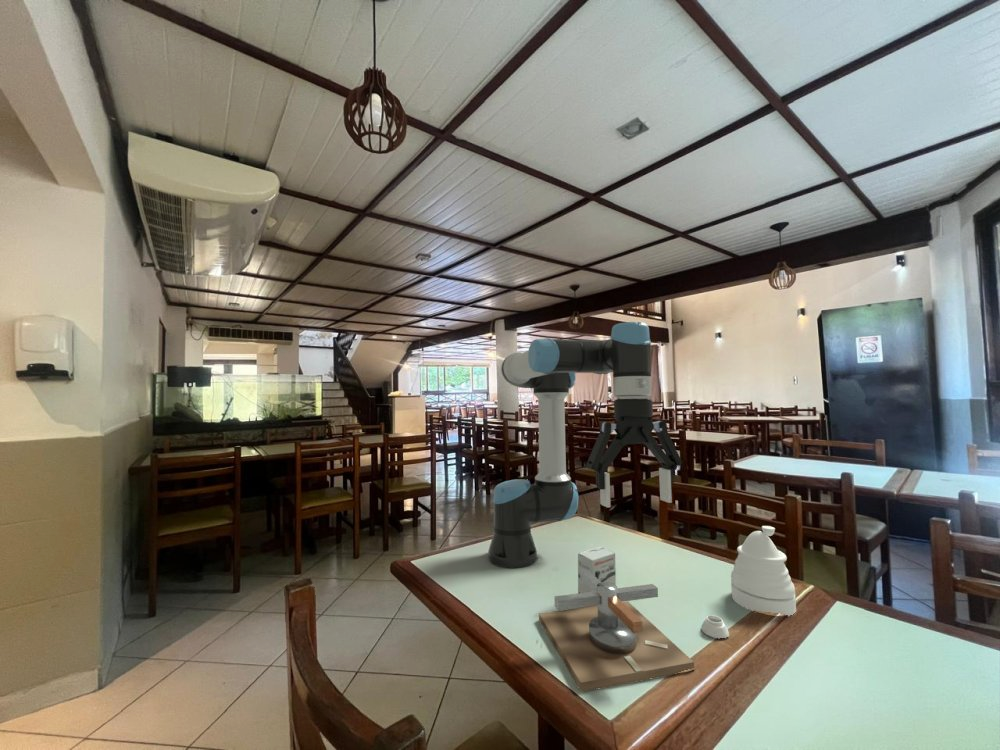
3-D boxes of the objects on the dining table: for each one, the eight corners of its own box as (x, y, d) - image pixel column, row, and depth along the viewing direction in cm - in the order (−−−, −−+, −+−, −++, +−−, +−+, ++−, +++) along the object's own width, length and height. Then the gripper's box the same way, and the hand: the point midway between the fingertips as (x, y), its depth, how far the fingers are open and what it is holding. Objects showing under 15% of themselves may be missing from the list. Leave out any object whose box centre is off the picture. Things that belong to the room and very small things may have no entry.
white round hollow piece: (712, 624, 84) (696, 630, 82) (712, 610, 85) (695, 615, 83) (734, 637, 80) (717, 643, 78) (733, 622, 80) (717, 628, 78)
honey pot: (799, 601, 93) (794, 525, 95) (792, 623, 84) (787, 539, 85) (738, 584, 102) (734, 514, 103) (725, 603, 93) (722, 526, 94)
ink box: (592, 612, 90) (591, 559, 90) (577, 602, 94) (576, 552, 94) (617, 601, 94) (616, 551, 95) (601, 593, 98) (600, 545, 99)
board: (539, 620, 86) (539, 612, 86) (628, 607, 91) (627, 600, 91) (581, 692, 65) (580, 681, 65) (694, 670, 70) (693, 660, 70)
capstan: (539, 611, 86) (538, 569, 87) (627, 599, 91) (626, 559, 92) (580, 680, 65) (579, 623, 66) (693, 659, 70) (691, 607, 71)
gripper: (584, 398, 73) (587, 513, 72) (698, 397, 79) (702, 503, 77) (568, 398, 80) (571, 502, 79) (673, 397, 86) (677, 495, 84)
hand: (636, 503), depth 78 cm, fingers open, 13 cm apart
